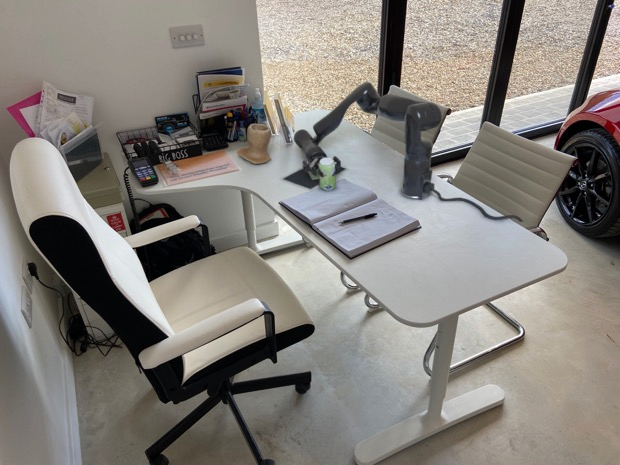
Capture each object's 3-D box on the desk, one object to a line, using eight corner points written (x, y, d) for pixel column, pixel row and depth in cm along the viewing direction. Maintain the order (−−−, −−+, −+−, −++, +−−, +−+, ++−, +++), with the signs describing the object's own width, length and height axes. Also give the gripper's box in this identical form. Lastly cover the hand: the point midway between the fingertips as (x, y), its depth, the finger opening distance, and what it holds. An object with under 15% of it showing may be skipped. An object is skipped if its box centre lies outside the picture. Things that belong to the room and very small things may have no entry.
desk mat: (345, 169, 201) (345, 168, 201) (310, 188, 187) (310, 187, 187) (319, 161, 209) (318, 159, 208) (283, 179, 195) (283, 178, 194)
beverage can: (336, 184, 189) (336, 155, 183) (335, 193, 183) (335, 163, 177) (320, 184, 190) (319, 155, 184) (318, 193, 184) (317, 163, 177)
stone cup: (278, 160, 210) (276, 126, 203) (254, 168, 205) (250, 133, 197) (259, 150, 221) (256, 117, 213) (236, 157, 215) (232, 123, 207)
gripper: (332, 162, 201) (344, 178, 187) (298, 166, 198) (308, 183, 184) (332, 144, 197) (344, 160, 183) (297, 149, 194) (307, 165, 180)
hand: (326, 171), depth 184 cm, fingers open, 8 cm apart
